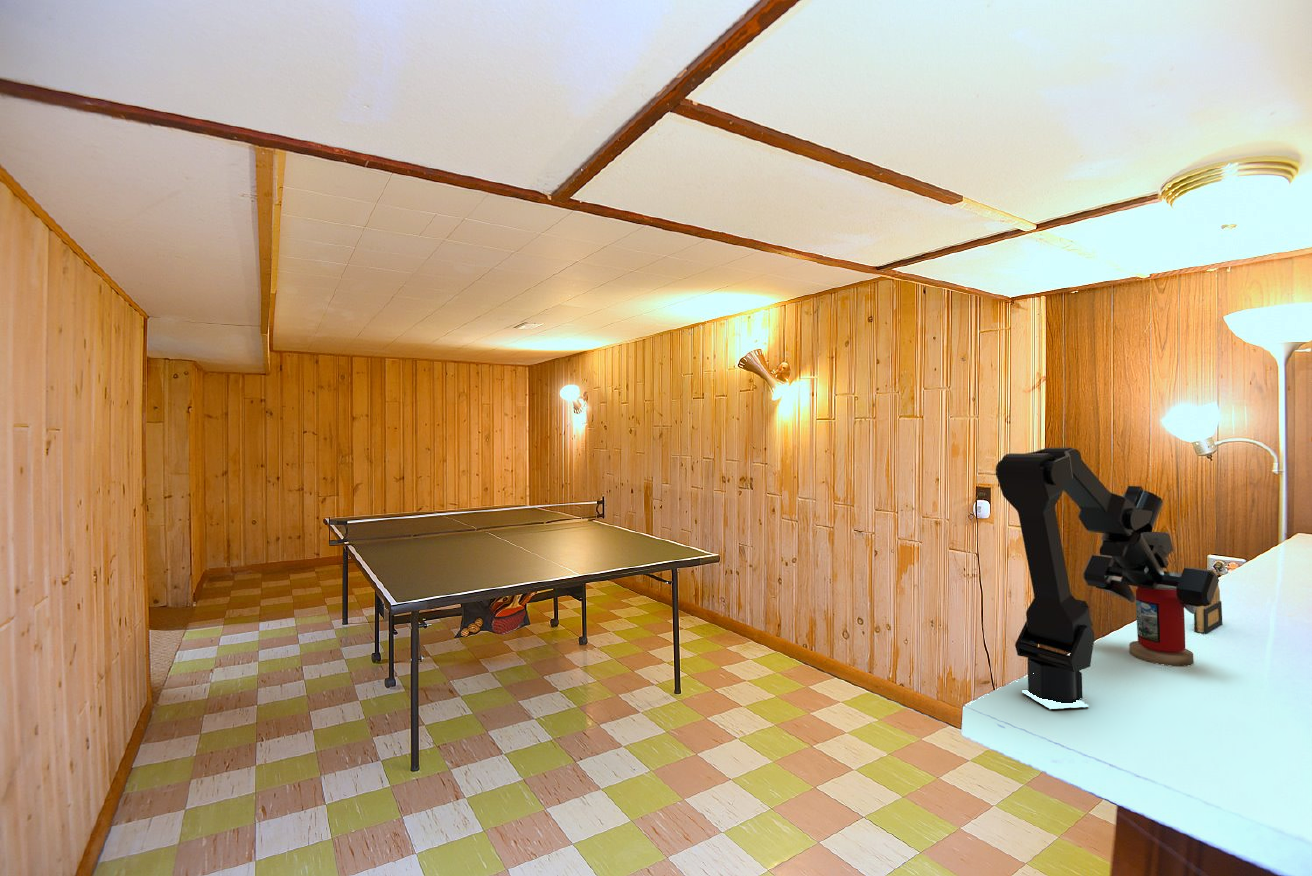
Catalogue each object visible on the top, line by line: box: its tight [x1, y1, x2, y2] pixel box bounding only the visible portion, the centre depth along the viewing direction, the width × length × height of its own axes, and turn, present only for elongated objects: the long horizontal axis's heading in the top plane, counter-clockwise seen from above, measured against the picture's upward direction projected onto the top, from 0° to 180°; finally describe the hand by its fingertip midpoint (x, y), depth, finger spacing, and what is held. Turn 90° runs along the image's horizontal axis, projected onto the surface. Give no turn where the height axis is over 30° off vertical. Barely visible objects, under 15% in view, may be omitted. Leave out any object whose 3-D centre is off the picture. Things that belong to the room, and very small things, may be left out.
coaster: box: [1128, 640, 1194, 667], centre depth 109 cm, size 9×9×2 cm
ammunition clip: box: [1193, 568, 1223, 635], centre depth 125 cm, size 11×2×12 cm, turn 123°
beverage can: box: [1135, 584, 1186, 654], centre depth 109 cm, size 7×7×12 cm
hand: (1162, 605), depth 110 cm, fingers open, 9 cm apart
